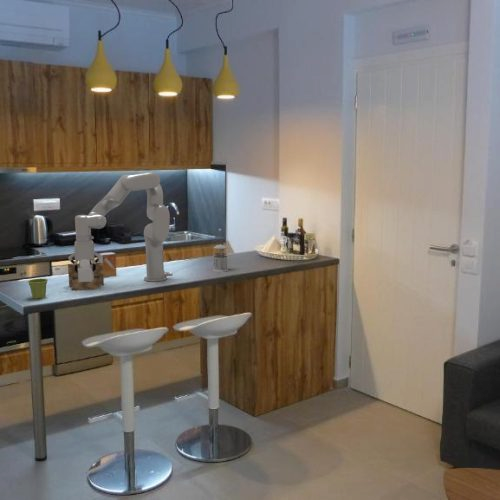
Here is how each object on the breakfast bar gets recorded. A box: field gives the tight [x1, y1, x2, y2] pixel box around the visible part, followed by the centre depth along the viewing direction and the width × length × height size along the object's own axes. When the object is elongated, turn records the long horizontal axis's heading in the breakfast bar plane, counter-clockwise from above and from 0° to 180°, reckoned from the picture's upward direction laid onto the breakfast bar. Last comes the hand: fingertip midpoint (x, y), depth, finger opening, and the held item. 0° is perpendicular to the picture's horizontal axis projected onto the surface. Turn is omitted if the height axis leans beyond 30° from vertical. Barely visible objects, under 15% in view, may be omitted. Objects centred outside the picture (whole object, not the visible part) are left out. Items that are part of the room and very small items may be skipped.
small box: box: [98, 251, 117, 278], centre depth 357 cm, size 8×6×13 cm
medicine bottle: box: [78, 259, 94, 282], centre depth 325 cm, size 7×7×12 cm
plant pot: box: [27, 278, 49, 300], centre depth 306 cm, size 9×9×9 cm
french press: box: [212, 228, 229, 272], centre depth 369 cm, size 10×12×25 cm
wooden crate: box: [67, 262, 105, 291], centre depth 327 cm, size 18×10×12 cm, turn 102°
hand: (85, 271), depth 325 cm, fingers open, 8 cm apart
